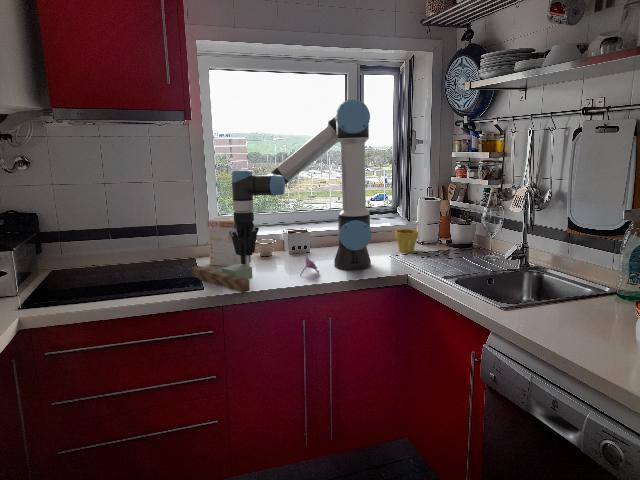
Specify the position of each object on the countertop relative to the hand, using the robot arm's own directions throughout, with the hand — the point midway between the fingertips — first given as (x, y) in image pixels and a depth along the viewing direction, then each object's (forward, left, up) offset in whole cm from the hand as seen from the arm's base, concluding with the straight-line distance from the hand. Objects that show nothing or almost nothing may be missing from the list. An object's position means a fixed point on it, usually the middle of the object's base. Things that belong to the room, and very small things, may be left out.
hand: (246, 271), depth 174 cm
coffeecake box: (+19, -7, -2) cm, 20 cm away
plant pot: (-29, -73, -2) cm, 78 cm away
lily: (-19, -16, -2) cm, 25 cm away
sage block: (0, +5, -2) cm, 5 cm away
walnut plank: (0, +13, -2) cm, 13 cm away
